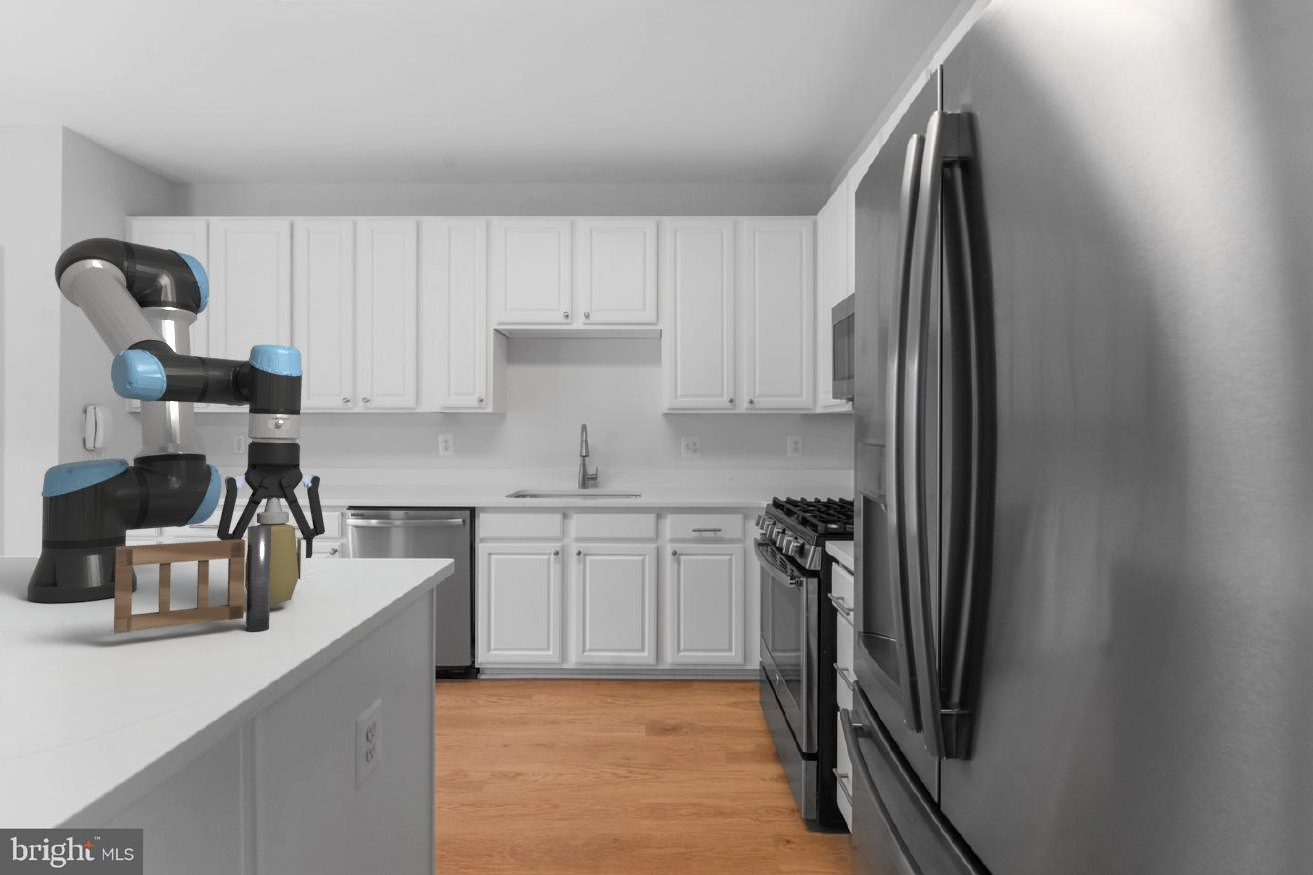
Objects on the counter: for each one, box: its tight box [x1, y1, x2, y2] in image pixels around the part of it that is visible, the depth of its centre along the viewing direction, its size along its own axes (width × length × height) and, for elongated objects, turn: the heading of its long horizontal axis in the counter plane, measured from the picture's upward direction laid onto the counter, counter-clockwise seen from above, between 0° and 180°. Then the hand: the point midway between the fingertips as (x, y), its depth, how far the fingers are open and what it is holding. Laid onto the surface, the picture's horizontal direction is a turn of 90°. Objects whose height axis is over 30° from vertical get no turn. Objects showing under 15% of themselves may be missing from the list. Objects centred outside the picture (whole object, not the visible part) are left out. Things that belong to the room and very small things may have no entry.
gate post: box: [245, 525, 271, 633], centre depth 109 cm, size 3×3×15 cm
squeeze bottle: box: [244, 497, 299, 605], centre depth 121 cm, size 8×8×18 cm
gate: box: [113, 538, 246, 635], centre depth 103 cm, size 2×15×11 cm, turn 128°
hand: (271, 580), depth 121 cm, fingers closed on squeeze bottle, 8 cm apart
